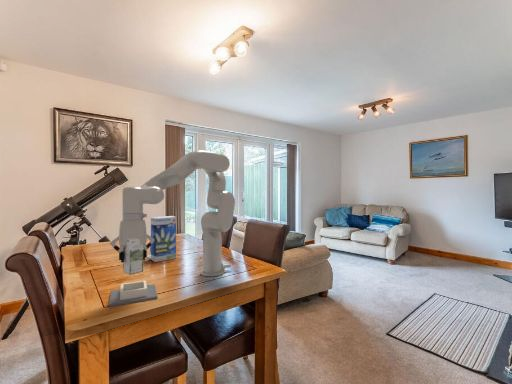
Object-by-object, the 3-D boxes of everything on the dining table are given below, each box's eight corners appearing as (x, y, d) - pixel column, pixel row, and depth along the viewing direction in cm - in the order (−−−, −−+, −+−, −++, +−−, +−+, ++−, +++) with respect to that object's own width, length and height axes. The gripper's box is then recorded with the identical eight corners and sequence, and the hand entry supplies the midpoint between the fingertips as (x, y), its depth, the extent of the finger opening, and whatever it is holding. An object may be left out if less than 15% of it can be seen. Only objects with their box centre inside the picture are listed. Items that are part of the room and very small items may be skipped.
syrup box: (136, 269, 112) (136, 234, 112) (143, 272, 108) (143, 236, 108) (122, 272, 108) (122, 236, 107) (129, 275, 104) (129, 238, 103)
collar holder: (154, 286, 118) (154, 277, 118) (157, 298, 106) (157, 288, 106) (111, 292, 111) (111, 283, 111) (108, 307, 98) (108, 296, 98)
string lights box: (154, 262, 154) (154, 218, 154) (150, 259, 160) (150, 217, 159) (176, 258, 163) (176, 216, 162) (171, 255, 169) (171, 215, 168)
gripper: (155, 215, 114) (155, 256, 115) (109, 217, 107) (109, 260, 107) (156, 217, 108) (156, 260, 108) (107, 219, 100) (108, 265, 101)
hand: (133, 260), depth 108 cm, fingers closed on syrup box, 7 cm apart
